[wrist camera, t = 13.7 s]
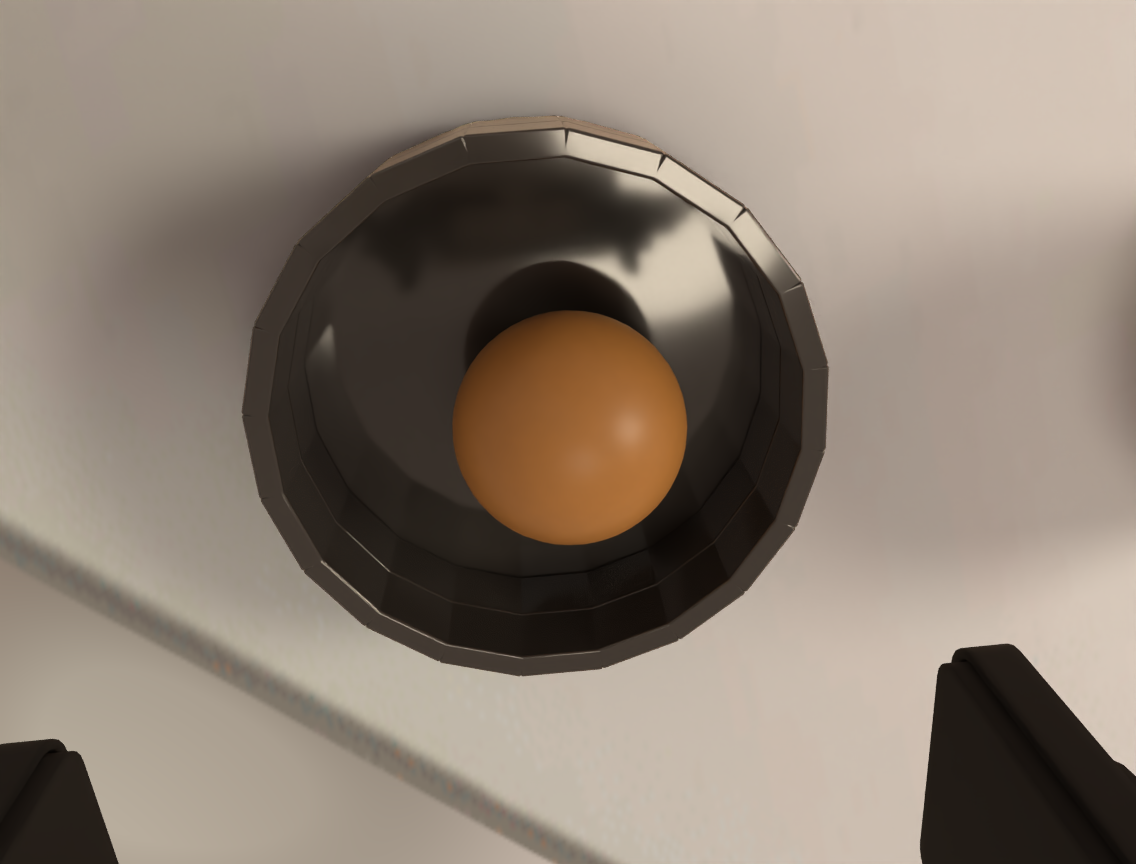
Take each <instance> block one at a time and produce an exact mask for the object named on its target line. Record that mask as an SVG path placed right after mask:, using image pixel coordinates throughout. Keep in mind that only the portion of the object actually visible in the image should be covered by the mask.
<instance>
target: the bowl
mask: <svg viewBox="0 0 1136 864" xmlns="http://www.w3.org/2000/svg"><path fill="white" fill-rule="evenodd" d="M563 310H570V311H586V312H592V313H598V314H601V315H604V316H607V317H610V318H613V319H615V320H617V321H619V322H621V323H623V324H626V325H628V326H629V327H631V328H632V329H634V330H635V331H637V332H638V333H640V334H641V335H642V336H643V337H645V338H646V339H647V340H648V341H649V342H650V343H651V344H652V345H653V346H655V347H656V349H657V350H658V351H659V352H660V354H661V355H662V356H663V358H664V359H665V360H666V362H667V363H668V364H669V366H670V368H671V369H672V371H673V373H674V375H675V377H676V379H677V381H678V384H679V386H680V389H681V392H682V395H683V399H684V404H685V409H686V415H687V437H686V448H685V452H684V457H683V461H682V463H681V466H680V469H679V472H678V474H677V476H676V478H675V480H674V482H673V484H672V486H671V488H670V490H669V491H668V493H667V494H666V496H665V497H664V498H663V500H662V501H661V502H660V503H659V505H658V506H657V507H656V508H655V509H654V510H653V511H652V512H651V513H650V514H649V515H648V516H647V517H645V518H644V519H643V520H642V521H640V522H639V523H638V524H636V525H635V526H633V527H632V528H630V529H628V530H626V531H625V532H623V533H621V534H619V535H616V536H614V537H611V538H609V539H606V540H602V541H599V542H595V543H589V544H582V545H558V544H550V543H545V542H541V541H538V540H534V539H531V538H528V537H525V536H523V535H521V534H519V533H517V532H515V531H513V530H511V529H510V528H508V527H507V526H505V525H504V524H502V523H501V522H499V521H498V520H496V519H495V518H494V517H493V516H492V515H491V514H490V513H489V512H488V511H487V510H486V509H485V508H484V507H483V506H482V505H481V504H480V503H479V502H478V500H477V499H476V498H475V496H474V495H473V494H472V492H471V490H470V488H469V487H468V485H467V483H466V481H465V479H464V478H463V476H462V473H461V471H460V468H459V465H458V462H457V458H456V455H455V450H454V444H453V430H452V421H453V411H454V405H455V401H456V397H457V394H458V391H459V388H460V385H461V383H462V380H463V378H464V376H465V374H466V372H467V370H468V368H469V366H470V365H471V363H472V362H473V361H474V359H475V358H476V356H477V355H478V354H479V353H480V352H481V350H482V349H483V348H484V347H485V346H486V345H487V344H488V343H489V342H490V341H491V340H493V339H494V338H495V337H496V336H497V335H498V334H500V333H501V332H503V331H504V330H506V329H507V328H509V327H510V326H512V325H514V324H516V323H518V322H520V321H522V320H524V319H527V318H530V317H533V316H535V315H538V314H543V313H547V312H553V311H563ZM827 364H828V361H827V358H826V355H825V352H824V348H823V345H822V342H821V339H820V336H819V332H818V329H817V326H816V323H815V319H814V316H813V313H812V310H811V307H810V303H809V300H808V297H807V294H806V290H805V287H804V284H803V283H802V282H801V278H800V277H799V275H798V274H797V273H796V271H795V270H794V269H793V267H792V266H791V265H790V263H789V262H788V261H787V259H786V258H785V257H784V255H783V254H782V253H781V251H780V250H779V249H778V247H777V246H776V245H775V243H774V242H773V241H772V239H771V238H770V237H769V235H768V234H767V233H766V231H765V230H764V229H763V227H762V226H761V225H760V223H759V222H758V221H757V219H756V218H755V217H754V215H753V214H752V213H751V211H750V210H749V209H748V208H747V207H745V206H744V204H743V203H741V202H740V201H738V200H737V199H735V198H733V197H732V196H730V195H729V194H727V193H726V192H724V191H723V190H721V189H720V188H718V187H717V186H715V185H714V184H712V183H711V182H709V181H708V180H706V179H705V178H703V177H702V176H700V175H699V174H697V173H696V172H694V171H693V170H691V169H690V168H688V167H687V166H685V165H684V164H682V163H681V162H679V161H678V160H676V159H675V158H673V157H672V156H670V155H669V154H667V153H666V152H664V151H663V150H661V149H660V148H658V147H657V146H655V145H654V144H652V143H650V142H649V141H647V140H646V139H644V138H641V137H640V136H637V135H633V134H629V133H625V132H621V131H618V130H615V129H611V128H608V127H604V126H600V125H597V124H593V123H589V122H586V121H580V120H575V119H571V118H567V117H564V116H559V117H557V116H555V115H553V116H540V117H510V118H503V119H496V120H488V121H475V122H472V123H467V124H464V125H462V126H460V127H458V128H455V129H453V130H450V131H447V132H444V133H442V134H440V135H438V136H435V137H433V138H431V139H429V140H426V141H424V142H422V143H420V144H418V145H415V146H413V147H411V148H409V149H407V150H404V151H402V152H400V153H398V154H395V155H393V156H392V157H391V158H389V159H388V160H386V161H385V162H384V163H383V164H382V165H381V166H379V167H378V168H377V169H376V170H375V171H374V172H372V173H371V174H370V175H369V176H368V177H367V178H365V179H364V180H363V181H362V182H361V183H360V184H359V185H358V186H357V187H356V188H355V189H354V190H352V191H351V192H350V193H349V194H348V195H347V196H346V197H345V198H344V199H343V200H342V201H341V202H339V203H338V204H337V205H336V206H335V207H334V208H333V209H332V210H331V211H330V212H329V213H328V214H326V215H325V216H324V217H323V218H322V219H321V220H320V221H319V222H318V223H317V224H316V225H315V226H313V227H312V228H311V229H310V230H309V231H308V232H307V233H306V234H305V235H304V236H303V237H301V238H300V239H299V241H298V243H297V244H296V245H295V246H294V248H293V250H292V252H291V254H290V256H289V258H288V259H287V261H286V263H285V265H284V267H283V269H282V271H281V273H280V275H279V277H278V279H277V281H276V283H275V284H274V286H273V288H272V290H271V292H270V294H269V296H268V298H267V300H266V302H265V304H264V306H263V307H262V309H261V311H260V313H259V315H258V317H257V319H256V321H255V326H254V327H253V330H252V338H251V345H250V353H249V360H248V368H247V375H246V383H245V391H244V398H243V406H242V414H243V416H242V419H243V424H244V428H245V433H246V438H247V442H248V447H249V452H250V456H251V461H252V466H253V470H254V475H255V480H256V484H257V489H258V494H259V497H260V498H261V502H262V504H263V505H264V507H265V509H266V510H267V512H268V514H269V515H270V517H271V519H272V520H273V522H274V524H275V525H276V527H277V529H278V530H279V532H280V534H281V535H282V537H283V539H284V540H285V542H286V544H287V546H288V547H289V549H290V551H291V552H292V554H293V556H294V557H295V559H296V561H297V562H298V564H299V566H300V567H301V569H302V570H304V572H305V574H306V575H308V576H309V577H310V578H311V579H312V580H313V581H314V582H315V583H317V584H318V585H319V586H320V587H321V588H322V589H323V590H324V591H325V592H327V593H328V594H329V595H330V596H331V597H332V598H333V599H334V600H336V601H337V602H338V603H339V604H340V605H341V606H342V607H343V608H345V609H346V610H347V611H348V612H349V613H350V614H351V615H352V616H354V617H355V618H356V619H357V620H358V621H359V622H360V623H361V624H363V625H364V626H365V625H366V627H367V628H369V629H371V630H373V631H375V632H377V633H379V634H382V635H384V636H386V637H388V638H390V639H392V640H394V641H396V642H398V643H401V644H403V645H405V646H407V647H409V648H411V649H413V650H415V651H417V652H420V653H422V654H424V655H426V656H428V657H430V658H432V659H434V660H437V661H440V662H441V663H446V664H452V665H457V666H463V667H469V668H475V669H481V670H486V671H492V672H498V673H504V674H509V675H515V676H531V675H542V674H553V673H564V672H575V671H586V670H597V669H602V667H603V668H606V667H609V666H611V665H614V664H617V663H619V662H622V661H625V660H627V659H630V658H633V657H636V656H638V655H641V654H644V653H646V652H649V651H652V650H655V649H657V648H660V647H663V646H665V645H668V644H671V643H674V642H676V641H678V638H679V639H682V638H683V637H685V636H686V635H688V634H689V633H690V632H692V631H693V630H694V629H696V628H697V627H699V626H700V625H701V624H703V623H704V622H706V621H707V620H708V619H710V618H711V617H713V616H714V615H715V614H717V613H718V612H719V611H721V610H722V609H724V608H725V607H726V606H728V605H729V604H731V603H732V602H733V601H735V600H736V599H738V598H739V597H740V596H742V595H743V594H744V593H745V591H747V590H748V589H749V588H750V587H751V585H752V584H753V583H754V581H755V580H756V579H757V578H758V576H759V575H760V574H761V572H762V571H763V570H764V569H765V567H766V566H767V565H768V563H769V562H770V561H771V560H772V558H773V557H774V556H775V555H776V553H777V552H778V551H779V549H780V548H781V547H782V546H783V544H784V543H785V542H786V540H787V539H788V538H789V537H790V535H791V534H792V533H793V531H794V530H795V527H796V526H797V525H798V522H799V519H800V517H801V514H802V511H803V509H804V506H805V503H806V501H807V498H808V495H809V493H810V490H811V487H812V485H813V482H814V479H815V477H816V474H817V471H818V469H819V466H820V463H821V461H822V458H823V455H824V450H825V448H826V426H827V399H828V372H829V367H828V366H827Z"/></svg>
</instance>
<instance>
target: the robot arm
mask: <svg viewBox="0 0 1136 864" xmlns="http://www.w3.org/2000/svg"><path fill="white" fill-rule="evenodd" d="M920 852H921V859H922V864H1136V776H1135V775H1134V774H1133V773H1132V772H1131V771H1129V770H1128V769H1127V768H1126V767H1125V766H1124V765H1123V764H1120V763H1118V762H1116V761H1114V760H1113V759H1112V758H1111V757H1110V756H1109V755H1108V753H1107V752H1106V751H1105V750H1104V749H1103V748H1102V746H1101V745H1100V744H1099V743H1098V742H1097V741H1096V739H1095V738H1094V737H1093V736H1092V735H1091V733H1090V732H1089V731H1088V730H1087V729H1086V728H1085V726H1084V725H1083V724H1082V723H1081V722H1080V721H1079V719H1078V718H1077V717H1076V716H1075V715H1074V714H1073V712H1072V711H1071V710H1070V709H1069V708H1068V706H1067V705H1066V704H1065V703H1064V702H1063V701H1062V699H1061V698H1060V697H1059V696H1058V695H1057V694H1056V692H1055V691H1054V690H1053V689H1052V688H1051V687H1050V685H1049V684H1048V683H1047V682H1046V681H1045V680H1044V678H1043V677H1042V676H1041V675H1040V674H1039V672H1038V671H1037V670H1036V669H1035V668H1034V667H1033V665H1032V664H1031V663H1030V662H1029V661H1028V660H1027V658H1026V657H1025V656H1024V655H1023V654H1022V653H1021V651H1020V650H1018V649H1017V648H1016V647H1015V646H1014V645H1011V644H999V645H989V646H979V647H969V648H960V649H958V650H956V651H955V653H954V655H953V657H952V662H951V663H944V664H942V665H941V666H940V668H939V670H938V675H937V684H936V693H935V703H934V713H933V723H932V732H931V742H930V752H929V762H928V771H927V781H926V791H925V801H924V810H923V820H922V830H921V839H920ZM0 864H118V861H117V858H116V855H115V852H114V849H113V846H112V843H111V840H110V837H109V834H108V831H107V828H106V825H105V823H104V820H103V817H102V814H101V812H100V808H99V805H98V802H97V799H96V796H95V793H94V790H93V787H92V785H91V782H90V779H89V776H88V773H87V770H86V767H85V764H84V762H83V759H82V757H81V755H80V754H79V753H78V752H75V751H67V750H66V748H65V746H64V744H63V743H62V742H60V741H59V740H56V739H46V740H36V741H27V742H17V743H6V744H1V745H0Z"/></svg>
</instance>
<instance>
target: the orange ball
mask: <svg viewBox="0 0 1136 864" xmlns="http://www.w3.org/2000/svg"><path fill="white" fill-rule="evenodd" d="M452 430H453V444H454V450H455V455H456V458H457V462H458V465H459V468H460V471H461V473H462V476H463V478H464V479H465V481H466V483H467V485H468V487H469V488H470V490H471V492H472V494H473V495H474V496H475V498H476V499H477V500H478V502H479V503H480V504H481V505H482V506H483V507H484V508H485V509H486V510H487V511H488V512H489V513H490V514H491V515H492V516H493V517H494V518H495V519H496V520H498V521H499V522H501V523H502V524H504V525H505V526H507V527H508V528H510V529H511V530H513V531H515V532H517V533H519V534H521V535H523V536H525V537H528V538H531V539H534V540H538V541H541V542H545V543H550V544H558V545H582V544H589V543H595V542H599V541H602V540H606V539H609V538H611V537H614V536H616V535H619V534H621V533H623V532H625V531H626V530H628V529H630V528H632V527H633V526H635V525H636V524H638V523H639V522H640V521H642V520H643V519H644V518H645V517H647V516H648V515H649V514H650V513H651V512H652V511H653V510H654V509H655V508H656V507H657V506H658V505H659V503H660V502H661V501H662V500H663V498H664V497H665V496H666V494H667V493H668V491H669V490H670V488H671V486H672V484H673V482H674V480H675V478H676V476H677V474H678V472H679V469H680V466H681V463H682V461H683V457H684V452H685V448H686V437H687V415H686V409H685V404H684V399H683V395H682V392H681V389H680V386H679V384H678V381H677V379H676V377H675V375H674V373H673V371H672V369H671V368H670V366H669V364H668V363H667V362H666V360H665V359H664V358H663V356H662V355H661V354H660V352H659V351H658V350H657V349H656V347H655V346H653V345H652V344H651V343H650V342H649V341H648V340H647V339H646V338H645V337H643V336H642V335H641V334H640V333H638V332H637V331H635V330H634V329H632V328H631V327H629V326H628V325H626V324H623V323H621V322H619V321H617V320H615V319H613V318H610V317H607V316H604V315H601V314H598V313H592V312H586V311H570V310H563V311H553V312H547V313H543V314H538V315H535V316H533V317H530V318H527V319H524V320H522V321H520V322H518V323H516V324H514V325H512V326H510V327H509V328H507V329H506V330H504V331H503V332H501V333H500V334H498V335H497V336H496V337H495V338H494V339H493V340H491V341H490V342H489V343H488V344H487V345H486V346H485V347H484V348H483V349H482V350H481V352H480V353H479V354H478V355H477V356H476V358H475V359H474V361H473V362H472V363H471V365H470V366H469V368H468V370H467V372H466V374H465V376H464V378H463V380H462V383H461V385H460V388H459V391H458V394H457V397H456V401H455V405H454V411H453V421H452Z"/></svg>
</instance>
